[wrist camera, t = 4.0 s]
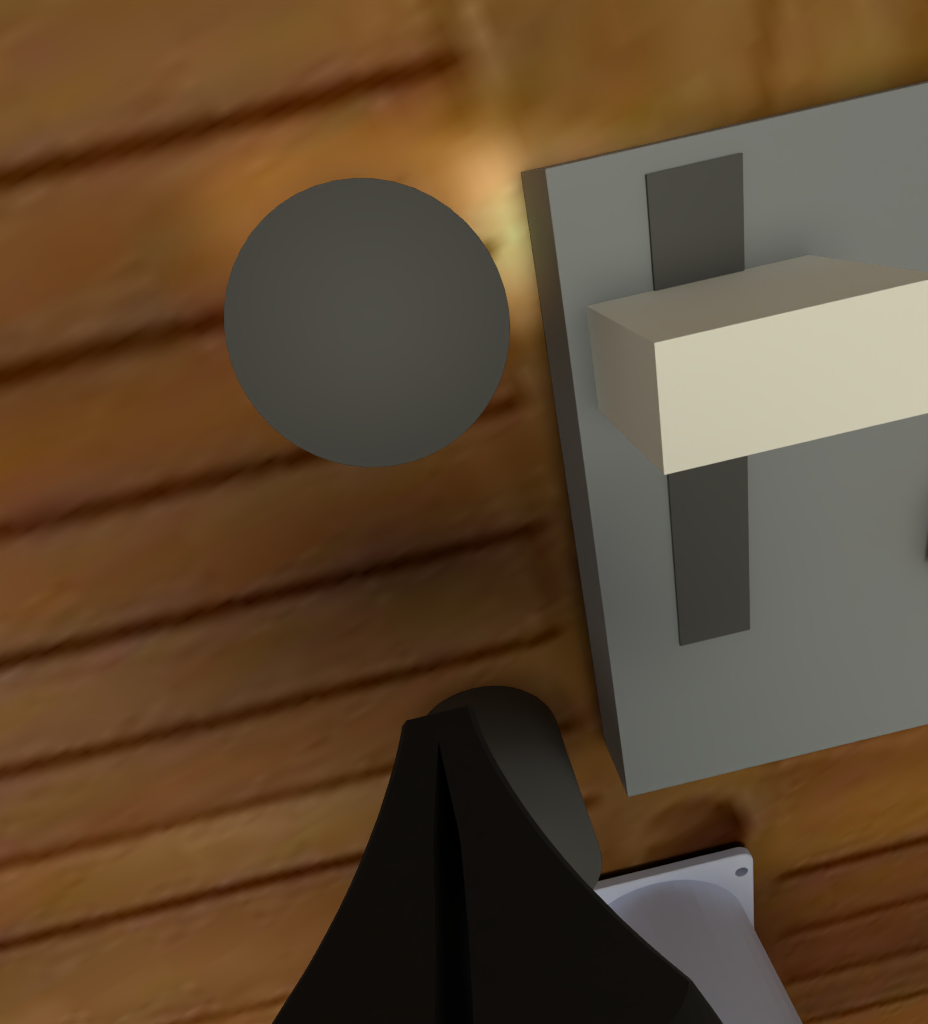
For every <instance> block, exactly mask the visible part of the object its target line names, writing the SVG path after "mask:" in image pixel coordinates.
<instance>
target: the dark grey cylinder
mask: <svg viewBox="0 0 928 1024" xmlns="http://www.w3.org/2000/svg"><path fill="white" fill-rule="evenodd" d="M464 706H470V707H472V708H474V709H475V712H476V716H477V720H478V724H479V727H480V729H481V732H482V734H483V736H484V738H485V741H486V743H487V745H488V747H489V749H490V751H491V753H492V755H493V757H494V758H495V760H496V762H497V764H498V766H499V767H500V769H501V771H502V772H503V774H504V775H505V777H506V779H507V780H508V782H509V784H510V785H511V787H512V789H513V790H514V792H515V793H516V795H517V796H518V798H519V799H520V801H521V802H522V804H523V805H524V806H525V808H526V809H527V811H528V812H529V813H530V815H531V816H532V818H533V819H534V820H535V822H536V823H537V824H538V826H539V827H540V828H541V830H542V831H543V832H544V834H545V835H546V836H547V838H548V839H549V840H550V841H551V843H552V844H553V845H554V846H555V847H556V849H557V850H558V851H559V852H560V853H561V855H562V856H563V857H564V858H565V859H566V861H567V862H568V863H569V864H570V865H571V866H572V867H573V869H574V870H575V871H576V872H577V873H578V874H579V875H580V876H581V878H582V879H583V880H584V881H585V882H586V883H587V884H588V885H589V886H590V887H591V888H592V889H594V887H595V886H596V884H597V882H598V880H599V877H600V873H601V868H602V855H601V851H600V848H599V845H598V842H597V839H596V836H595V833H594V830H593V827H592V824H591V821H590V818H589V815H588V812H587V809H586V807H585V804H584V801H583V798H582V795H581V792H580V789H579V786H578V783H577V780H576V777H575V774H574V771H573V769H572V766H571V763H570V760H569V757H568V754H567V751H566V748H565V745H564V742H563V739H562V736H561V733H560V731H559V728H558V725H557V722H556V719H555V717H554V715H553V713H552V712H551V710H550V709H549V708H548V707H547V706H546V704H545V703H544V702H542V701H541V700H540V699H538V698H537V697H535V696H534V695H532V694H530V693H528V692H525V691H523V690H520V689H516V688H512V687H505V686H486V687H479V688H473V689H470V690H466V691H463V692H460V693H458V694H456V695H453V696H452V697H450V698H448V699H446V700H444V701H443V702H442V703H440V704H439V705H437V706H436V707H435V708H434V709H433V710H432V711H430V713H429V714H428V715H432V714H436V713H440V712H444V711H448V710H452V709H456V708H460V707H464Z"/></svg>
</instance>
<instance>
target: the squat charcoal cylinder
mask: <svg viewBox="0 0 928 1024" xmlns="http://www.w3.org/2000/svg"><path fill="white" fill-rule="evenodd" d="M224 328H225V336H226V344H227V348H228V352H229V356H230V360H231V363H232V366H233V368H234V371H235V373H236V376H237V378H238V381H239V383H240V385H241V386H242V388H243V390H244V392H245V394H246V395H247V397H248V399H249V400H250V401H251V403H252V404H253V406H254V407H255V408H256V410H257V411H258V412H259V414H260V415H261V416H262V417H263V418H264V419H265V420H266V421H267V422H268V423H269V424H270V425H271V426H272V427H273V428H274V429H275V430H276V431H278V432H279V433H280V434H281V435H282V436H283V437H285V438H286V439H288V440H289V441H291V442H292V443H294V444H295V445H297V446H298V447H300V448H302V449H304V450H306V451H308V452H310V453H312V454H314V455H316V456H318V457H321V458H324V459H327V460H330V461H332V462H337V463H341V464H346V465H350V466H360V467H386V466H393V465H401V464H404V463H408V462H412V461H415V460H418V459H421V458H423V457H426V456H428V455H431V454H433V453H435V452H437V451H438V450H440V449H442V448H444V447H445V446H447V445H449V444H450V443H451V442H453V441H454V440H455V439H457V438H458V437H459V436H461V435H462V434H463V433H464V432H465V431H466V430H467V429H468V428H469V427H470V426H471V425H472V424H473V423H474V422H475V421H476V420H477V418H478V417H479V416H480V415H481V413H482V412H483V411H484V410H485V408H486V406H487V405H488V403H489V402H490V400H491V398H492V397H493V395H494V393H495V391H496V388H497V386H498V384H499V382H500V380H501V377H502V373H503V370H504V367H505V364H506V359H507V353H508V348H509V335H510V321H509V309H508V303H507V298H506V294H505V289H504V286H503V283H502V280H501V277H500V274H499V272H498V269H497V267H496V265H495V263H494V261H493V259H492V257H491V255H490V253H489V252H488V250H487V249H486V247H485V246H484V244H483V243H482V241H481V240H480V238H479V237H478V236H477V234H476V233H475V232H474V231H473V230H472V229H471V228H470V227H469V225H468V224H467V223H466V222H465V221H464V220H463V219H462V218H460V217H459V216H458V215H457V214H456V213H455V212H454V211H452V210H451V209H450V208H449V207H447V206H446V205H444V204H443V203H441V202H440V201H438V200H437V199H435V198H434V197H432V196H430V195H427V194H425V193H423V192H421V191H419V190H417V189H415V188H412V187H409V186H406V185H403V184H400V183H396V182H392V181H386V180H380V179H369V178H352V179H343V180H335V181H331V182H327V183H324V184H320V185H316V186H313V187H311V188H309V189H307V190H304V191H302V192H300V193H298V194H296V195H294V196H292V197H291V198H289V199H288V200H286V201H285V202H283V203H281V204H280V205H279V206H277V207H276V208H275V209H274V210H273V211H272V212H270V213H269V214H268V215H267V216H266V217H265V218H264V219H263V220H262V221H261V222H260V223H259V225H258V226H257V227H256V228H255V229H254V230H253V231H252V233H251V234H250V236H249V237H248V239H247V240H246V242H245V244H244V245H243V247H242V248H241V250H240V252H239V254H238V257H237V259H236V261H235V263H234V266H233V268H232V271H231V275H230V278H229V282H228V285H227V291H226V298H225V305H224Z"/></svg>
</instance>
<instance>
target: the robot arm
mask: <svg viewBox="0 0 928 1024" xmlns="http://www.w3.org/2000/svg"><path fill="white" fill-rule="evenodd" d="M272 1024H802V1022H801V1020H800V1018H799V1016H798V1014H797V1012H796V1010H795V1008H794V1006H793V1004H792V1002H791V1000H790V998H789V996H788V994H787V992H786V990H785V988H784V987H783V985H782V983H781V981H780V979H779V977H778V975H777V973H776V971H775V969H774V967H773V965H772V963H771V961H770V959H769V957H768V955H767V953H766V951H765V949H764V947H763V946H762V944H761V942H760V940H759V938H758V936H757V934H756V932H755V930H754V890H753V858H752V856H751V854H750V852H749V850H748V849H746V848H743V847H735V848H731V849H727V850H723V851H719V852H715V853H711V854H707V855H703V856H699V857H695V858H691V859H687V860H683V861H678V862H674V863H670V864H666V865H662V866H658V867H654V868H650V869H646V870H642V871H638V872H634V873H630V874H626V875H622V876H617V877H613V878H609V879H605V880H601V881H598V882H597V884H596V886H595V887H594V889H592V888H591V887H590V886H589V885H588V884H587V883H586V882H585V881H584V880H583V879H582V878H581V876H580V875H579V874H578V873H577V872H576V871H575V870H574V869H573V867H572V866H571V865H570V864H569V863H568V862H567V861H566V859H565V858H564V857H563V856H562V855H561V853H560V852H559V851H558V850H557V849H556V847H555V846H554V845H553V844H552V843H551V841H550V840H549V839H548V838H547V836H546V835H545V834H544V832H543V831H542V830H541V828H540V827H539V826H538V824H537V823H536V822H535V820H534V819H533V818H532V816H531V815H530V813H529V812H528V811H527V809H526V808H525V806H524V805H523V804H522V802H521V801H520V799H519V798H518V796H517V795H516V793H515V792H514V790H513V789H512V787H511V785H510V784H509V782H508V780H507V779H506V777H505V775H504V774H503V772H502V771H501V769H500V767H499V766H498V764H497V762H496V760H495V758H494V757H493V755H492V753H491V751H490V749H489V747H488V745H487V743H486V741H485V738H484V736H483V734H482V732H481V729H480V727H479V724H478V720H477V716H476V712H475V709H474V708H472V707H470V706H464V707H460V708H456V709H452V710H448V711H444V712H440V713H436V714H432V715H427V716H423V717H419V718H415V719H411V720H407V721H406V722H405V723H404V725H403V726H402V731H401V737H400V742H399V746H398V751H397V755H396V759H395V763H394V767H393V770H392V774H391V777H390V781H389V784H388V787H387V790H386V793H385V797H384V800H383V803H382V806H381V809H380V812H379V815H378V818H377V821H376V824H375V826H374V829H373V831H372V834H371V836H370V839H369V842H368V844H367V847H366V849H365V852H364V854H363V857H362V860H361V862H360V864H359V867H358V869H357V871H356V874H355V876H354V878H353V880H352V883H351V885H350V887H349V889H348V891H347V893H346V895H345V897H344V899H343V902H342V904H341V906H340V908H339V910H338V912H337V914H336V916H335V918H334V920H333V921H332V923H331V925H330V927H329V929H328V931H327V933H326V935H325V936H324V938H323V940H322V942H321V944H320V946H319V948H318V950H317V951H316V953H315V955H314V957H313V958H312V960H311V962H310V964H309V965H308V967H307V969H306V970H305V972H304V974H303V975H302V977H301V978H300V980H299V982H298V983H297V985H296V986H295V988H294V989H293V991H292V993H291V994H290V996H289V997H288V999H287V1001H286V1002H285V1004H284V1005H283V1007H282V1008H281V1010H280V1012H279V1013H278V1015H277V1016H276V1018H275V1020H274V1021H273V1023H272Z"/></svg>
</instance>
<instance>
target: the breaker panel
mask: <svg viewBox="0 0 928 1024" xmlns="http://www.w3.org/2000/svg"><path fill="white" fill-rule="evenodd" d="M521 175H522V182H523V189H524V196H525V202H526V209H527V216H528V223H529V230H530V237H531V243H532V250H533V257H534V264H535V271H536V278H537V284H538V291H539V298H540V305H541V312H542V319H543V325H544V332H545V339H546V346H547V353H548V360H549V366H550V373H551V380H552V387H553V394H554V401H555V407H556V414H557V421H558V428H559V435H560V442H561V448H562V455H563V462H564V469H565V476H566V483H567V489H568V496H569V503H570V510H571V517H572V524H573V530H574V537H575V544H576V551H577V558H578V565H579V571H580V578H581V585H582V592H583V599H584V606H585V612H586V619H587V626H588V633H589V640H590V647H591V653H592V660H593V667H594V674H595V681H596V688H597V694H598V701H599V708H600V715H601V722H602V729H603V735H604V740H605V743H606V745H607V748H608V750H609V752H610V755H611V757H612V760H613V762H614V764H615V767H616V769H617V772H618V774H619V776H620V779H621V781H622V784H623V786H624V788H625V791H626V793H627V796H628V797H630V796H634V795H638V794H642V793H646V792H650V791H655V790H659V789H663V788H667V787H671V786H675V785H679V784H683V783H687V782H691V781H696V780H700V779H704V778H708V777H712V776H716V775H720V774H724V773H728V772H733V771H737V770H741V769H745V768H749V767H753V766H757V765H761V764H765V763H769V762H774V761H778V760H782V759H786V758H790V757H794V756H798V755H802V754H806V753H811V752H815V751H819V750H823V749H827V748H831V747H835V746H839V745H843V744H847V743H852V742H856V741H860V740H864V739H868V738H872V737H876V736H880V735H884V734H888V733H893V732H897V731H901V730H905V729H909V728H913V727H917V726H921V725H925V724H928V81H923V82H919V83H914V84H910V85H906V86H901V87H897V88H892V89H888V90H883V91H879V92H875V93H870V94H866V95H861V96H857V97H852V98H848V99H844V100H839V101H835V102H830V103H826V104H821V105H817V106H812V107H808V108H804V109H799V110H795V111H790V112H786V113H781V114H777V115H773V116H768V117H764V118H759V119H755V120H750V121H746V122H742V123H737V124H733V125H728V126H724V127H719V128H715V129H711V130H706V131H702V132H697V133H693V134H688V135H684V136H680V137H675V138H671V139H666V140H662V141H657V142H653V143H648V144H644V145H640V146H635V147H631V148H626V149H622V150H617V151H613V152H609V153H604V154H600V155H595V156H591V157H586V158H582V159H578V160H573V161H569V162H564V163H560V164H555V165H551V166H547V167H542V168H538V169H533V170H529V171H524V172H521Z"/></svg>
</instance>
